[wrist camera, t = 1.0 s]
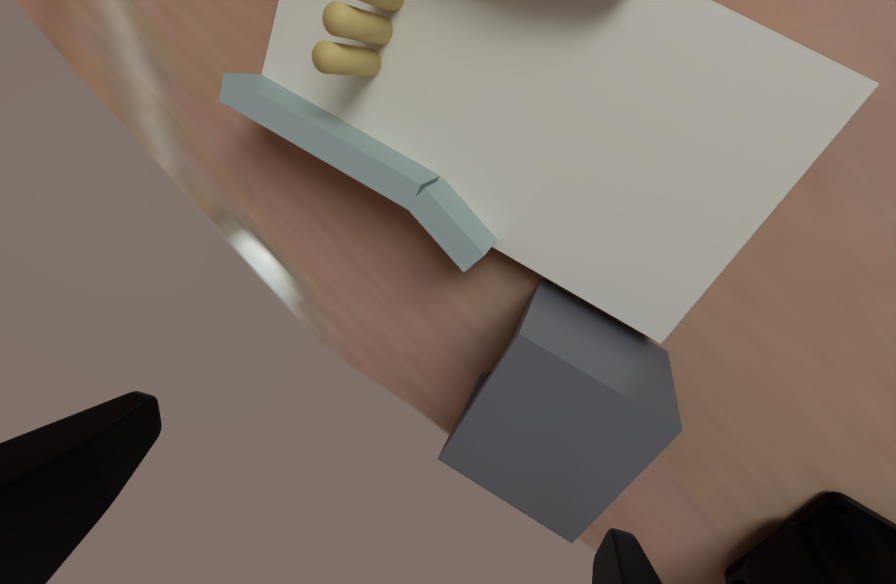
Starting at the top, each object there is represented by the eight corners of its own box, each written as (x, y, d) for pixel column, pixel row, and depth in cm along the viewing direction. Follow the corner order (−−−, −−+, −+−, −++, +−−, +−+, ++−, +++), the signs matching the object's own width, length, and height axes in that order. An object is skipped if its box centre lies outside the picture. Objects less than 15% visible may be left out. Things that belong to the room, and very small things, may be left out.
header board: (876, 64, 14) (968, 55, 10) (649, 341, 19) (656, 401, 15) (349, -196, 16) (266, -285, 12) (268, 121, 21) (192, 128, 17)
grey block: (667, 351, 19) (682, 430, 15) (581, 452, 22) (572, 543, 17) (541, 278, 19) (518, 333, 15) (473, 386, 22) (437, 458, 18)
